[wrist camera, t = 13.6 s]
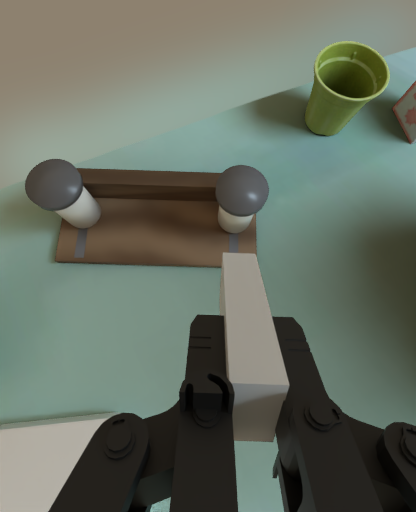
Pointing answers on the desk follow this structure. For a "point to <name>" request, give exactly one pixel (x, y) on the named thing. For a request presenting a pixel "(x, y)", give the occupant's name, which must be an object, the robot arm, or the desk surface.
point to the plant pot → (344, 85)
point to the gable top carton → (407, 113)
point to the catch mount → (153, 221)
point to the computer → (41, 459)
